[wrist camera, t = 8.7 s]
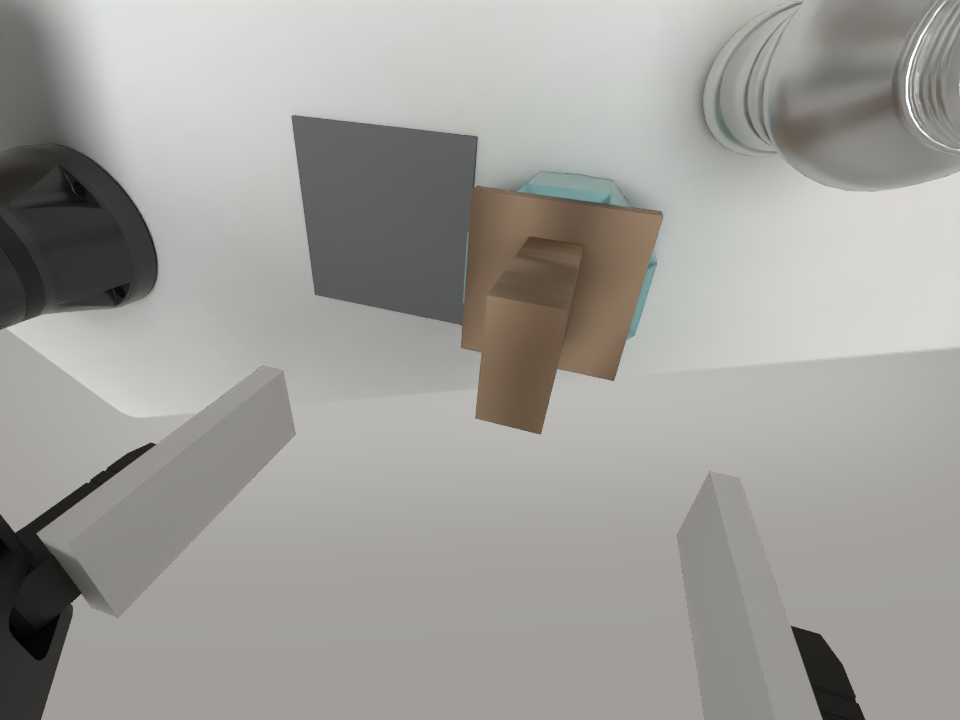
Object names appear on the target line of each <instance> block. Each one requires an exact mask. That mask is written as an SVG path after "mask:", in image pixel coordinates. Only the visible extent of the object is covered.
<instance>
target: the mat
mask: <svg viewBox="0 0 960 720" xmlns="http://www.w3.org/2000/svg"><path fill="white" fill-rule="evenodd" d="M292 124H293V131H294V139H295V146H296V154H297V162H298V169H299V177H300V184H301V192H302V199H303V207H304V215H305V222H306V230H307V237H308V245H309V252H310V260H311V268H312V275H313V283H314V290H315V295H319V296H324V297H329V298H334V299H339V300H343V301H348V302H353V303H358V304H363V305H368V306H373V307H378V308H382V309H387V310H392V311H397V312H402V313H407V314H412V315H416V316H421V317H426V318H431V319H436V320H441V321H446V322H451V323H455V324H460V325H463V312H464V303H463V292H464V277H465V261H466V246H467V232H469V222H470V207H471V192H472V189H473V188H474V179H475V165H476V150H477V137H476V136H468V135H459V134H450V133H442V132H433V131H424V130H416V129H407V128H398V127H389V126H381V125H372V124H363V123H355V122H346V121H337V120H329V119H320V118H311V117H303V116H292Z"/></svg>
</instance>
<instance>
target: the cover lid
mask: <svg viewBox="0 0 960 720" xmlns="http://www.w3.org/2000/svg"><path fill="white" fill-rule="evenodd" d="M662 219H663V215H662V212H661V211H654V210H647V209H640V208H633V207H625V206H618V205H611V204H604V203H596V202H589V201H582V200H575V199H568V198H560V197H553V196H546V195H539V194H531V193H524V192H517V191H510V190H503V189H495V188H488V187H481V186H477V187H475V188H473V189H472V192H471V207H470V222H469V237H468V252H467V267H466V282H465V297H464V312H463V327H462V342H461V348H464V349H469V350H473V351H478V352H482V354H481V365H480V375H479V385H478V396H477V406H476V416H475V418H476V419H480V420H484V421H488V422H492V423H496V424H500V425H504V426H509V427H512V428H517V429H520V430H524V431H528V432H532V433H537V434H541V432H542V427H543V423H544V419H545V415H546V411H547V407H548V403H549V399H550V395H551V391H552V387H553V383H554V379H555V375H556V371H557V369H561V370H566V371H570V372H575V373H579V374H584V375H589V376H593V377H598V378H602V379H607V380H612V381H614V379H615V376H616V372H617V369H618V366H619V362H620V359H621V356H622V352H623V349H624V345H625V342H626V339H627V335H628V332H629V329H630V325H631V322H632V319H633V315H634V312H635V309H636V305H637V302H638V299H639V295H640V292H641V289H642V285H643V282H644V279H645V275H646V272H647V269H648V265H649V262H650V259H651V255H652V252H653V249H654V245H655V242H656V239H657V235H658V232H659V229H660V225H661V222H662Z"/></svg>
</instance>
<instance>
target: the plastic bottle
mask: <svg viewBox="0 0 960 720" xmlns="http://www.w3.org/2000/svg"><path fill="white" fill-rule="evenodd" d="M703 109H704V115H705V120H706V122H707V125H708V127H709V130H710V131H711V133H712V134H713V135H714V137H715V138H716V139H717V141H719V142H720V143H721V144H722V145H724V146H725V147H726V148H728V149H730V150H732V151H734V152H736V153H740V154H744V155H748V156H768V155H775V154H779V155H780V156H781V157H782V159H783V160H785V161H786V162H787V163H788V164H789V165H791V166H792V167H793V168H794V169H795V170H797V171H798V172H800V173H801V174H803V175H804V176H806V177H808V178H810V179H812V180H814V181H816V182H818V183H820V184H823V185H825V186H829V187H834V188H838V189H842V190H846V191H869V192H873V191H881V190H890V189H898V188H903V187H907V186H912V185H916V184H920V183H924V182H927V181H931V180H935V179H939V178H942V177H946V176H949V175H951V174H954V173H956V172H959V171H960V0H800V1H795V2H791V3H787V4H783V5H779V6H777V7H775V8H773V9H770V10H768V11H766V12H764V13H762V14H760V15H759V16H757V17H756V18H754V19H753V20H751V21H749V22H748V23H747V24H746V25H744V26H743V27H742V28H741V29H740V30H739V31H738V32H737V33H735V34H734V35H733V36H732V38H731V39H730V40H729V41H728V42H727V44H726V45H725V46H724V47H723V48H722V50H721V51H720V53H719V55H718V56H717V58H716V60H715V61H714V63H713V65H712V67H711V70H710V72H709V75H708V77H707V80H706V85H705V89H704V97H703Z"/></svg>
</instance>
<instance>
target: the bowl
mask: <svg viewBox="0 0 960 720" xmlns="http://www.w3.org/2000/svg"><path fill="white" fill-rule="evenodd" d="M517 192H524V193H531V194H539V195H546V196H553V197H560V198H568V199H575V200H582V201H589V202H596V203H604V204H611V205H618V206H625V207H631V205H630V204H629V203H628V201H627V200H626V199H625V198H624V197H623V195H622V194H621V192H620V190H619V189H618V187H617V186H616V184H615V183H614V181H611V180H603V179H595V178H592V177H589V176H585V175H580V174H556V173H548V172H542V171H541V172H540V173H539V174H537V175H536V176H535V177H533V178H532V179H531V180H530V181H528V182H527V183H526V184H525V185H524V186H523V187H522V188H520V189H519V190H518V191H517ZM468 237H469V232H467V246H466V261H465V277H464V292H463V303H464V297H465V282H466V267H467V252H468ZM656 265H657V260H656V256H655V252H654V249H653V252H652V255H651V259H650V262H649V265H648V269H647V272H646V275H645V279H644V282H643V285H642V289H641V292H640V295H639V299H638V302H637V305H636V309H635V312H634V315H633V319H632V322H631V325H630V329H629V332H628V335H627V339H629V338H631V337H633V336H635V333H636V330H637V326H638V323H639V320H640V317H641V313H642V310H643V307H644V304H645V300H646V297H647V294H648V291H649V288H650V284H651V281H652V278H653V275H654V271H655V268H656ZM627 339H626V340H627Z"/></svg>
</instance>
